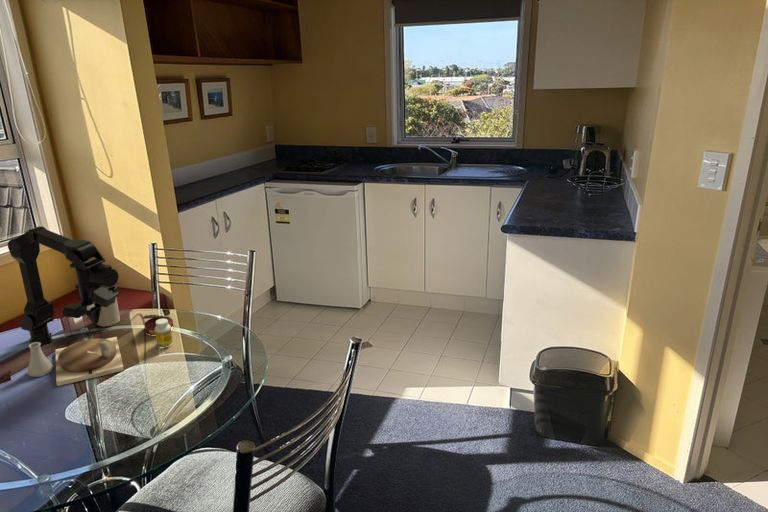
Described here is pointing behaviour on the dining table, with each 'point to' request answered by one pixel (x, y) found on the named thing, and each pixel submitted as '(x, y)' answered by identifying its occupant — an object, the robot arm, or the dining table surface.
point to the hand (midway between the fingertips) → (95, 323)
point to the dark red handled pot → (154, 323)
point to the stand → (71, 377)
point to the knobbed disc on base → (87, 355)
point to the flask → (38, 362)
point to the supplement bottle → (163, 333)
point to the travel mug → (109, 315)
